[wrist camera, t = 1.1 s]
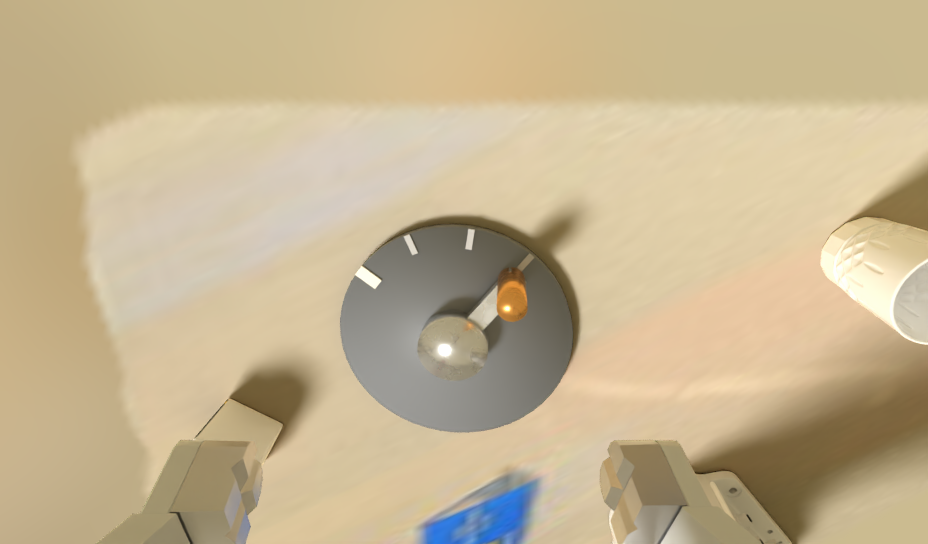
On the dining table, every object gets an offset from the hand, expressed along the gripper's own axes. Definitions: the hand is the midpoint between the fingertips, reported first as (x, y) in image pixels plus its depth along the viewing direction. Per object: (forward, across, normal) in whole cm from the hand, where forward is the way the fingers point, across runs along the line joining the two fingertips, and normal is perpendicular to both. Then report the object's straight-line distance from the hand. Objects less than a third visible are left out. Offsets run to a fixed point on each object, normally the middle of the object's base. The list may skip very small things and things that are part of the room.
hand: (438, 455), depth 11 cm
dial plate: (+32, +4, -24) cm, 40 cm away
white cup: (+29, +40, -11) cm, 50 cm away
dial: (+31, +5, -21) cm, 37 cm away
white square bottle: (+32, -20, -41) cm, 56 cm away
